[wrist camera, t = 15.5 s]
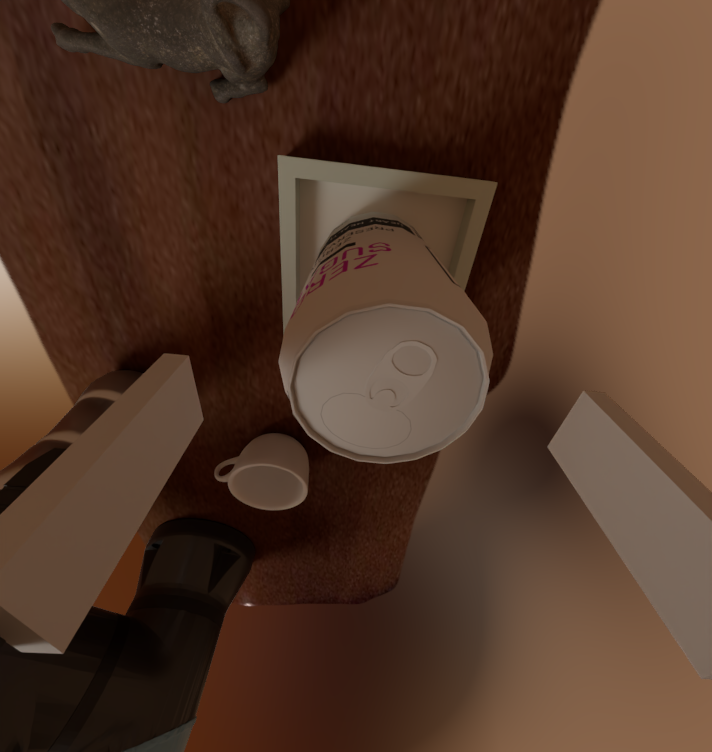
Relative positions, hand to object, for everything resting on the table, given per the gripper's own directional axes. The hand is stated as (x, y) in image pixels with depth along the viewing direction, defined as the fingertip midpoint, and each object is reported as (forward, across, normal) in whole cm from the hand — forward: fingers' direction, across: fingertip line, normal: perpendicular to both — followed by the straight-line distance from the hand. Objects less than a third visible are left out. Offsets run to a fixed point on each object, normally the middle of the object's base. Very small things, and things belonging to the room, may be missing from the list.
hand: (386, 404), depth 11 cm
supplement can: (+15, 0, 0) cm, 15 cm away
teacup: (+16, +9, +21) cm, 28 cm away
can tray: (+16, 0, 0) cm, 16 cm away
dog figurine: (+16, +12, -12) cm, 23 cm away
